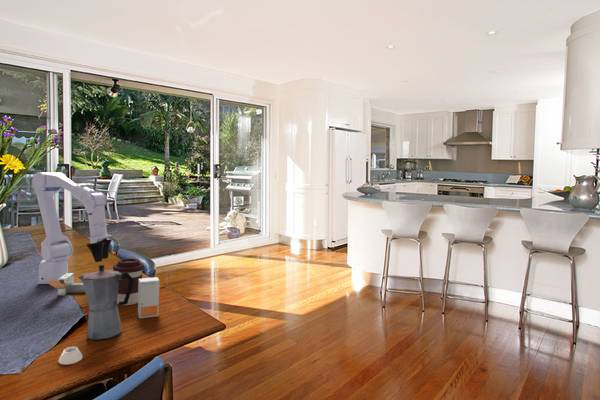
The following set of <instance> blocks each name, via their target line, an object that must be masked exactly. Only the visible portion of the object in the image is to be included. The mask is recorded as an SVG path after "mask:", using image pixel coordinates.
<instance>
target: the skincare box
mask: <svg viewBox="0 0 600 400" xmlns="http://www.w3.org/2000/svg"><path fill="white" fill-rule="evenodd" d="M138 280H139V284H138V303H137V316H138V319H146V318H154V317H156V318H157V317H159V309H160V305H159V304H160V278H159V277H158V276H155V277H144V278H143V277H142V279H138Z"/></svg>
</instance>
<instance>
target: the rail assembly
mask: <svg viewBox="0 0 600 400" xmlns="http://www.w3.org/2000/svg"><path fill="white" fill-rule="evenodd" d="M74 278H75V274H74V272H70V273H69V272H68V273H66V274H65V275H63V276H62V277H60V278H59V279H58V281H59V282H60V283H62V284H64V285H66V288H65V289H57V295H58V294H66V293H68V292H69V293H68V294H71V293H72V294H74V293H75V294H76V293H77V294H80V293H81V294H82V293H85V294H86V292H85V287H84V284H83V283H82V282H75V279H74ZM66 295H67V294H66Z"/></svg>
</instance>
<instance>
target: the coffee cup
mask: <svg viewBox="0 0 600 400" xmlns="http://www.w3.org/2000/svg"><path fill="white" fill-rule="evenodd" d="M144 269H145V263H143V262H141V261H140V259H138V258H130V257H129V258H123V259H119V260H118V261H117V263H114V264H113V265H112V271H117V272H119V273H124V272H128V274H129V275H130V276H131V277H132V278H133V280H134V284H133V287H132V290H131V293H130V296H129V299H128V303H127V304H125V305H124V306H133V305H136V304H138V284H139V280H138V279H142V278H143V271H144ZM128 284H129V280H128V279H123V280H119V284H118V297H117V305H119V302H123V301H124V299H125V297H126V291H127V288H128Z"/></svg>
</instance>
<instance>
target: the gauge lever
mask: <svg viewBox="0 0 600 400" xmlns="http://www.w3.org/2000/svg"><path fill="white" fill-rule="evenodd" d="M48 284H49V286H51V287H53V288H54V289H55V290H58V289H65V288H66V285H64V284H62V283H60V282H59V281H48Z"/></svg>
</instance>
